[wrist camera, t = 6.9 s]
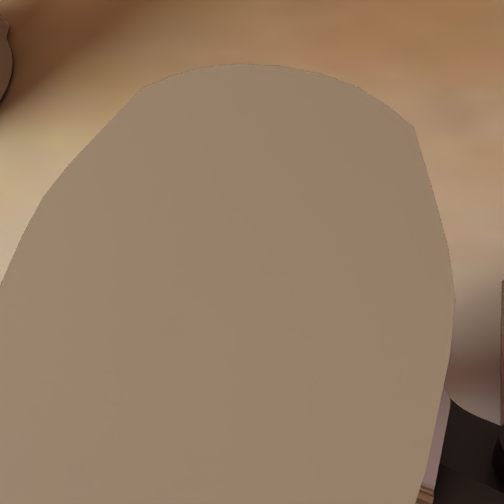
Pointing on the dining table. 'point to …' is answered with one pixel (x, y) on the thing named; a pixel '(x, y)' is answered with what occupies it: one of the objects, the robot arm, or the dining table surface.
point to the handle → (229, 303)
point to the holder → (502, 359)
